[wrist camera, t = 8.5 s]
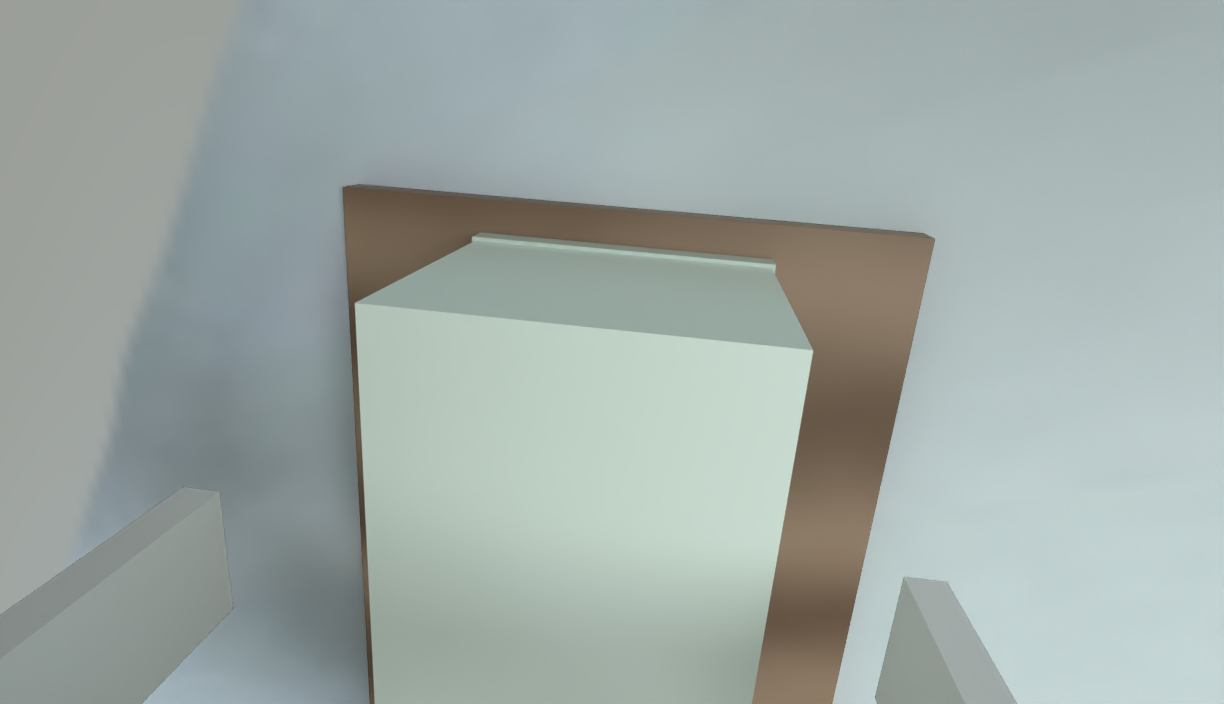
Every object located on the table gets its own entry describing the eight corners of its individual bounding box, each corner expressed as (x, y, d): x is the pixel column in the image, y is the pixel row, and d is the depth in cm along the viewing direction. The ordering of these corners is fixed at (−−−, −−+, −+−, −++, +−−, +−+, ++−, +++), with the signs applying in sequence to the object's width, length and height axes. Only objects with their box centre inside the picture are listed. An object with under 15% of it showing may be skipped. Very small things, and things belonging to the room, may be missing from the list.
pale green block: (482, 231, 20) (349, 296, 12) (772, 257, 19) (820, 345, 11) (479, 537, 23) (372, 738, 15) (726, 570, 22) (740, 798, 15)
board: (358, 184, 21) (332, 189, 19) (923, 233, 19) (942, 242, 18) (385, 779, 28) (368, 815, 27) (791, 847, 27) (796, 890, 25)
